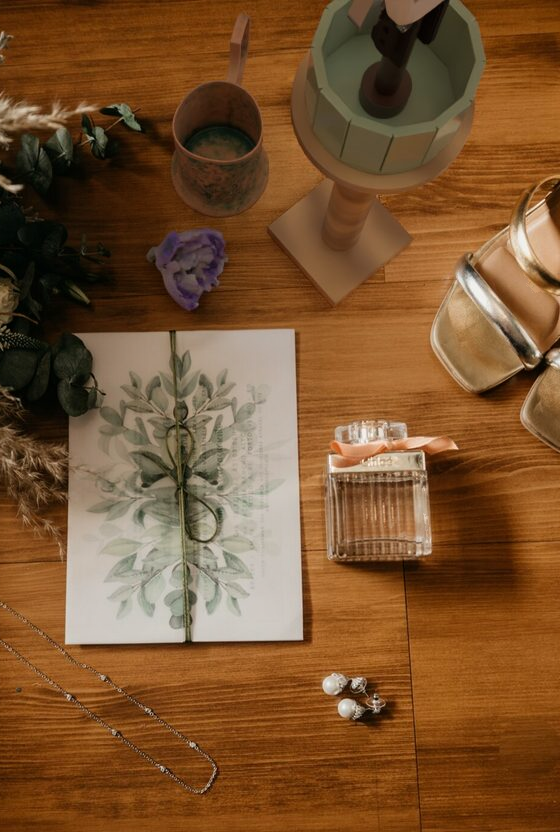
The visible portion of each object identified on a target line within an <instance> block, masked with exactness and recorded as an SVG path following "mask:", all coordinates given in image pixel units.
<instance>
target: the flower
mask: <svg viewBox="0 0 560 832" xmlns="http://www.w3.org/2000/svg"><path fill="white" fill-rule="evenodd" d="M223 235H224V233H223V232H222V231H219V230H217V229H214V228H210V227H203V228H200V229H188V230H184V231H182V232H177V231H175V230H170V231H169V232H168V233H167V234H166V236H165V237H164V239H163V240H162V241H161V243H160V244H159V245H158V246H152V247H151V248H150V249H149V251H148V252H147V254H146V260H147V261H148V262H149V263H150V264H153V262H154V260H155V266H156V268H157V270H158V271H160V273H161V276H162V281H163V285H164V287H165V289H166V291H167V293H168V294H169V296H170V297H171V298H172V299H173V300H174V301H175V302H176V303H177V304H178V305H179V306H180V307H181V308H183V309H185V310H187V311H188V312H190V311H191V310H195V309H197V308H198V307H199V305H200V303H199V299H200V297H201V296H202V295H203V293H204V292H208V293H210V292H211V290H212V284H213V285H214V287H215V288H219V286H220V283H221V281H220V280H218V277H219V276H220V275H221V274H222V273H224V266H225V263H228V261H229V257H228V254H227V253H226V252H225V251H224V250H225V248H226V245H227V242H226V240H225V239H224V236H223Z"/></svg>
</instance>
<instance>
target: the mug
mask: <svg viewBox="0 0 560 832" xmlns="http://www.w3.org/2000/svg"><path fill="white" fill-rule="evenodd" d="M250 39H251V15H250V14H246V13H242V12H239V13H238V15H237V17H236V20H235V22H234V25H233V29H232V33H231V36H230V39H229V60H228V67H227V73H226V77H225V79H213V80H208V81H204V82H202V83H200V84H198V85H197V86H195V87H193V88H192V89H191V90H189V92H187V93H186V95H184V97H183V98H182V99H181V101H180V102H179V104H178V106H177V108H176V110H175V112H174V115H173V118H172V122H171V123H172V126H171V128H172V136H173V140H174V141H173V142H174V147H175V150H174V152H173V155H172V157H171V162H170V163H171V164H170V175H171V181H172V184H173V187H174V189H175V191H176V194H177V195H178V197H179V198H180V199H181V200H182V202H183V204H185V205H186V206H188V208H190V209H191V210H193V211H194V212H196V213H198V214H201V215H203V216H205V217H206V216H207V217H211V218H229V217H233V216H237V215H239V214H241V213H243V212H245V211H247V210H249V209H250V208H251V207H253V206H254V205H255V204H256V203H257V202H258V201H259V199H260V198H261V196H263V194H264V191H265V190H266V187H267V184H268V181H269V174H270V163H269V158H268V154H267V152H266V149H265V147H264V145H263V141H264V139H263V137H264V119H263V114H262V111H261V108H260V105H259V103H258V102H257V100H256V98H255V97H254V96H253V94H252V93H251V92H249V90H248V89H246V88H245V87H243V86H242V84H243V81H244V80H243V79H244V75H245V70H246V65H247V60H248V56H249V49H250Z"/></svg>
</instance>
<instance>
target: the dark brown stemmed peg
mask: <svg viewBox="0 0 560 832" xmlns="http://www.w3.org/2000/svg"><path fill="white" fill-rule="evenodd" d="M424 16H425V15H424ZM424 16H423V17H421V18H420V19H418V20H417V22H418V25H419V27H418V30H417V33H416V36H415V38H414V41H413V44H412V47H411V50H410V53H409V55H408V58H407V61H406V63H405V64H404V65H403V66H402V67H400V68H397V67H396V66H395V65H394V64H393V63H392V62H391V60H390V59H389V58H388V57H384V56H383V55H382V57H381V61H378V62H376V63H374V64H372V65H371V66H369V67H368V68H367V70H366V71H365V72H364V74H363V77H362V81H361V84H360V88H359V93H358V96H359V102H360V104H361V106H362V108H363V109H364V110H365V111H366V112H367V113H368V114H369V115H371V116H373V117H375V118H379V119H389V118H392V117H395V116H397V115H398V114H399V113H401V112H402V111H403V109H404V108H405V106H406V104H407V102H408V99H409V96H410V94H411V91H412V79H411V76H410V74H409V72H408V71H407V69H406V67H407V64H408V61H409V58H410V55H411V53H412V50H413V47H414V44H415V41H416V38H417V36H418V33H419V30H420V27H421V24H422V21H423V19H424Z"/></svg>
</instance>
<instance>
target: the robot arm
mask: <svg viewBox="0 0 560 832" xmlns="http://www.w3.org/2000/svg"><path fill="white" fill-rule="evenodd" d="M449 2H450V0H354V1H353V3H352V5H351V7H350V9H349V11H348V14H347V17H348V19H349V20H350V21H351V22H352V23H353V24H354V25H355V26H356V27H357V28H358V29H359V31H364V30H366V29H368V28H370V27H373V29H372V33H371V38H372V40H373V42H374V45H375V47H376V49H377V50H378V51H379V52H380V53H381V54H382V55H383V56H384V57H388V58H389V59H390V60H391V62H392V63H393V64H394V65H395V66H396V67H397V68H400V67H402V66H403V65H404V64H405V63H406V61H407V58H408V55H409V53H410V50H411V47H412V44H413V41H414V38H415V36H416V33H417V30H418V27H419V25H418V22H417V20H418V19H420V18H421V17H423V16H424V15H425V16H424V19H423V21H422V24H421V27H420V30H419V33H418V36H417V38H418V39H419V40H420V41H421V42H422V43H423V44H424V45H425V44H426V45H429V44H430V43H431V42H432V41H434V40H435V38H436V35H437V32H438V30H439V27H440V25H441V22H442V20H443V17H444V15H445V12H446V9H447V7H448V4H449Z"/></svg>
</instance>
